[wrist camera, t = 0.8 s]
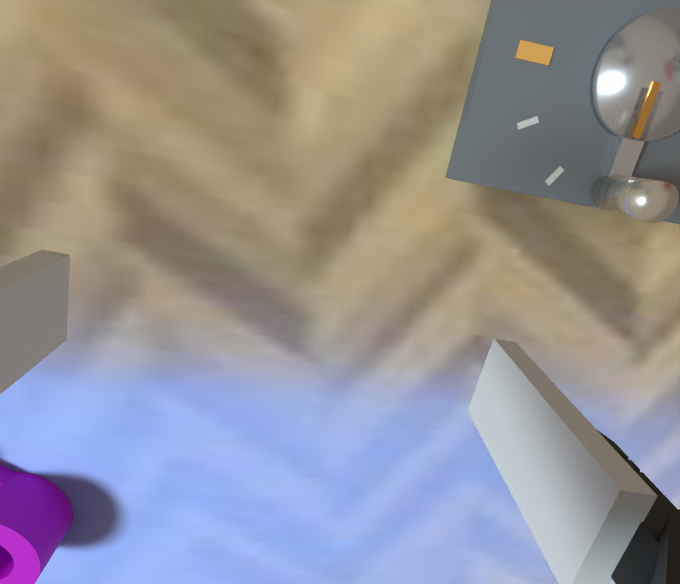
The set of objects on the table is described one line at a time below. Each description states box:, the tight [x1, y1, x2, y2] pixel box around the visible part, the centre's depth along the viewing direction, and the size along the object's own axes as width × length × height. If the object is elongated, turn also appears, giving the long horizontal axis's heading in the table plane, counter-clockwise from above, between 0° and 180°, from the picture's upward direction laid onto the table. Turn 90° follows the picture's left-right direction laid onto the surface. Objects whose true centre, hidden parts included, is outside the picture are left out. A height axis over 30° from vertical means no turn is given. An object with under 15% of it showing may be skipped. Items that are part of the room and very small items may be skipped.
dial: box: [590, 9, 680, 222], centre depth 33 cm, size 14×9×6 cm, turn 169°
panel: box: [446, 0, 680, 224], centre depth 36 cm, size 20×21×2 cm
